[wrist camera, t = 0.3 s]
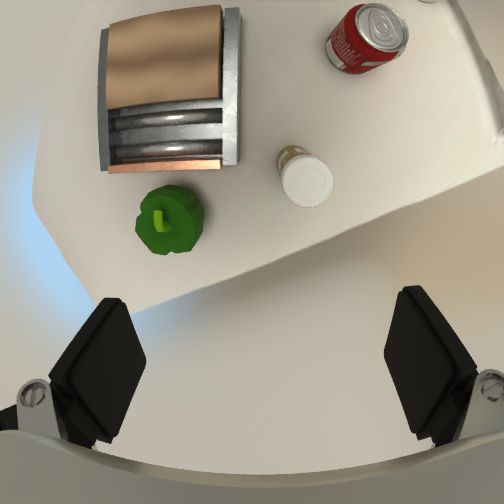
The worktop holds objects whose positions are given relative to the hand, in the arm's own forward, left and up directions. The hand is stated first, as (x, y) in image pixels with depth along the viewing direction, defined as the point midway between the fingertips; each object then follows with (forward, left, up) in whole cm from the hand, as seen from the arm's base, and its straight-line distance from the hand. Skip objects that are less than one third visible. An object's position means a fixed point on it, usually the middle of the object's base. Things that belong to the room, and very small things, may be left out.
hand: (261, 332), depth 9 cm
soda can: (-18, +11, -31) cm, 37 cm away
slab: (-16, -12, -28) cm, 34 cm away
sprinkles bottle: (-2, +4, -31) cm, 31 cm away
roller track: (-12, -12, -30) cm, 35 cm away
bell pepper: (+5, -11, -31) cm, 33 cm away
